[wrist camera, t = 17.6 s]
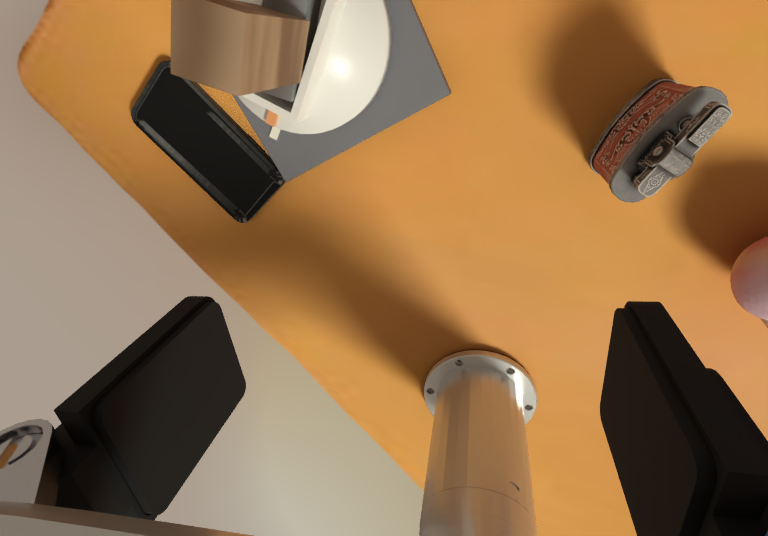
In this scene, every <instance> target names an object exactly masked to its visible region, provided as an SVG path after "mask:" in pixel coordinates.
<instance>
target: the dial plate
mask: <svg viewBox="0 0 768 536" xmlns="http://www.w3.org/2000/svg"><path fill="white" fill-rule="evenodd" d="M385 1H386V4H387V8H388V12H389V16H390V23H391V39H392V44H391V54H390V60H389V65H388V69H387V72H386V75H385V78H384V81H383V83H382V85H381V87H380V89H379V91H378V93H377V94H376V96H375V97H374V99H373V100H372V101H371V103H370V104H369V105H368V106H367V107H366V108H365V109H364V110H363V111H362V112H361V113H360V114H359V115H357V116H356V117H355V118H353V119H352V120H350V121H348V122H347V123H345V124H343V125H342V126H339V127H337V128H335V129H333V130H330V131H326V132H323V133H317V134H298V133H292V132H288V131H285V130H281V129H279V128H277V127H273V126H271V125H269V124H267V123H265V121H264V120H262V119H261V118H259V117H258V116H257V115H255V114H254V113H253V112H252V111H251V110H250V109H249V108H248V107H247V106H246V105H245V104H244V103H243V102H242V101H241V100H240V99H239V97H238V96H236V95H233V94H232V95H233V96H234V98H235V100H236V101H237V103H238V105H239V106H240V108H241V109H242V111H243V113H244V114H245V116H246V118H247V119H248V121H249V123H250V124H251V126H252V127H253V129H254V131H255V132H256V134H257V136H258V137H259V139H260V141H261V142H262V144H263V145H264V147H265V149H266V150H267V152H268V154H269V155H270V157H271V158H272V160H273V162H274V163H275V165H276V167H277V168H278V170H279V172H280V173H281V175H282V176H283V178H284V180H285V181H286V182H288V181H290V180H291V179H293V178H295V177H297V176H299V175H301V174H303V173H304V172H306V171H308V170H310V169H312V168H314V167H316V166H317V165H319V164H321V163H323V162H325V161H327V160H329V159H331V158H332V157H334V156H336V155H338V154H340V153H342V152H344V151H345V150H347V149H349V148H351V147H353V146H355V145H357V144H358V143H360V142H362V141H364V140H366V139H368V138H370V137H371V136H373V135H375V134H377V133H379V132H381V131H383V130H384V129H386V128H388V127H390V126H392V125H394V124H396V123H398V122H399V121H401V120H403V119H405V118H407V117H409V116H411V115H412V114H414V113H416V112H418V111H420V110H422V109H424V108H425V107H427V106H429V105H431V104H433V103H435V102H437V101H438V100H440V99H442V98H444V97H446V96H448V95H450V94H451V90H450V88H449V85H448V83H447V81H446V79H445V76H444V74H443V72H442V69H441V67H440V65H439V62H438V60H437V58H436V56H435V53H434V51H433V49H432V46H431V44H430V42H429V39H428V37H427V35H426V32H425V30H424V28H423V26H422V23H421V21H420V19H419V16H418V14H417V12H416V9H415V7H414V5H413V2H412V0H385Z"/></svg>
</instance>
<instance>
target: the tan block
mask: <svg viewBox="0 0 768 536" xmlns="http://www.w3.org/2000/svg"><path fill="white" fill-rule="evenodd" d="M320 5H321V0H263V1H262V6H260V5H257V4H253V3H247V2H242V1H236V0H171V74H173V75H176V76H179V77H182V78H185V79H188V80H191V81H194V82H197V83H200V84H203V85H206V86H209V87H212V88H215V89H218V90H221V91H224V92H227V93H230V94H233V95H236V96H242V95H247V94H251V93H256V92H263V93H266V94H269V95H272V96H275V97H278V98H281V99H284V100H287V101H290V102H292V101H295V97H296V94H297V91H298V88H299V85H300V82H301V79H302V75H303V72H304V69H305V66H306V63H307V60H308V56H309V53H310V50H311V47H312V44H313V41H314V37H315V34H316V30H317V24H318V18H319V12H320Z"/></svg>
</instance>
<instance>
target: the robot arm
mask: <svg viewBox="0 0 768 536" xmlns="http://www.w3.org/2000/svg"><path fill="white" fill-rule="evenodd" d="M245 389H246V382H245V379H244V376H243V373H242V370H241V367H240V364H239V361H238V358H237V355H236V352H235V349H234V346H233V343H232V340H231V337H230V334H229V331H228V328H227V325H226V322H225V319H224V316H223V313H222V310H221V307H220V305H219V304H218V303H216V302H215V301H214V300H213V299H212V298H211V297H203V296H201V297H200V296H199V297H197V296H190V297H186V298H185V299H183V300H182V301H181V302H180V303H179V304H177V305H176V306H175V307H174V308H173V309H172V310H170V311H169V312H168V313H167V314H166V315H165V316H164V317H162V318H161V319H160V320H159V321H158V322H157V323H155V324H154V325H153V326H152V327H150V328H149V329H148V330H147V331H146V332H145V333H144V334H142V335H141V336H140V337H139V338H138V339H136V340H135V341H134V342H133V343H132V344H131V345H129V346H128V347H127V348H126V349H125V350H124V351H122V352H121V353H120V354H119V355H118V356H117V357H115V358H114V359H113V360H112V361H111V362H110V363H108V364H107V365H106V366H105V367H104V368H102V369H101V370H100V371H99V372H98V373H97V374H96V375H94V376H93V377H92V378H91V379H90V380H89V381H87V382H86V383H85V384H84V385H83V386H82V387H80V388H79V389H78V390H77V391H76V392H75V393H73V394H72V395H71V396H70V397H69V398H67V399H66V400H65V401H64V402H63V403H62V404H60V405H59V406H58V407H57V408H56V409H55V410H54V412H55V413H56V415H57V416H58V418H59V420H60V421H61V423H62V424H61V425H60V426H58V427H57V428H56V429H54V427H53V426H52V424H51V423H49V421H47V420H42V419H36V420H28V421H25V422H22V423H18V424H15V425H13V426H11V427H9V428H6V429H4V430H2V431H1V432H0V536H252V535H245V534H239V533H233V532H226V531H219V530H214V529H207V528H201V527H194V526H187V525H181V524H174V523H167V522H161V521H154V520H155V518H156V517H157V515H159V514H161V513H163V512H164V511H165V510H166V509H167V507H168V506H169V504H170V503H171V501H172V500H173V498H174V497H175V495H176V494H177V493H178V491H179V490H180V488H181V487H182V485H183V483H184V482H185V481H186V479H187V478H188V476H189V475H190V473H191V472H192V470H193V469H194V468H195V466H196V465H197V463H198V462H199V460H200V459H201V457H202V456H203V454H204V453H205V451H206V450H207V448H208V447H209V446H210V444H211V443H212V441H213V439H214V438H215V437H216V435H217V434H218V432H219V431H220V429H221V428H222V426H223V425H224V423H225V422H226V420H227V419H228V418H229V416H230V415H231V413H232V412H233V410H234V409H235V407H236V406H237V404H238V403H239V401H240V400H241V398H242V397H243V395H244V393H245ZM424 399H425V402H426V405H427V407H428V409H429V411H430V412H431V414H432V415H433V416H434V421H433V428H432V436H431V443H430V451H429V458H428V466H427V473H426V481H425V488H424V496H423V504H422V512H421V519H420V532H419V535H420V536H537V528H536V519H535V510H534V500H533V491H532V482H531V473H530V464H529V455H528V446H527V437H526V428H525V425H526V424H527V423H528V421H529V420H530V419H531V418H532V416H533V414H534V412H535V410H536V405H537V394H536V389H535V385H534V383H533V381H532V378H531V377H530V375H529V374H528V373H527V371H526V370H525V369H524V368H523V367H521V366H520V365H519V364H518V363H517V362H515V361H513V360H512V359H510V358H508V357H506V356H503V355H501V354H498V353H494V352H489V351H482V350H469V351H462V352H457V353H454V354H451V355H449V356H447V357H444V358H443V359H441V360H440V361H438V362H437V363H436V364H435V365H434V366H433V367H432V368H431V370H430V371H429V373H428V375H427V378H426V381H425V386H424ZM600 416H601V421H602V425H603V428H604V431H605V434H606V437H607V441H608V444H609V447H610V450H611V453H612V456H613V460H614V463H615V466H616V469H617V472H618V476H619V479H620V482H621V485H622V488H623V492H624V495H625V498H626V501H627V504H628V508H629V511H630V514H631V517H632V520H633V524H634V527H635V530H636V533H637V536H768V441H767V440H766V438H765V437H764V435H763V434H762V433H761V431H760V430H759V428H758V427H757V426H756V424H755V423H754V421H753V420H752V419H751V417H750V416H749V414H748V413H747V412H746V410H745V409H744V407H743V406H742V405H741V403H740V402H739V400H738V399H737V398H736V396H735V395H734V393H733V392H732V391H731V389H730V388H729V386H728V385H727V384H726V382H725V381H724V379H723V378H722V377H721V376H720V375H719V374H718V372H717V371H715V370H713V369H711V368H705V366H704V365H703V363H702V362H701V360H700V359H699V358H698V356H697V355H696V353H695V352H694V350H693V349H692V347H691V346H690V344H689V343H688V342H687V340H686V339H685V337H684V336H683V334H682V333H681V331H680V330H679V328H678V327H677V325H676V324H675V323H674V321H673V320H672V318H671V317H670V315H669V314H668V312H667V311H666V309H665V308H664V306H663V305H662V304H661V303H660V302H631V301H628V302H627V303H626V305H625V307H624V308H617V309H616V311H615V314H614V319H613V326H612V332H611V338H610V345H609V351H608V357H607V364H606V370H605V377H604V383H603V389H602V396H601V402H600Z"/></svg>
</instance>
